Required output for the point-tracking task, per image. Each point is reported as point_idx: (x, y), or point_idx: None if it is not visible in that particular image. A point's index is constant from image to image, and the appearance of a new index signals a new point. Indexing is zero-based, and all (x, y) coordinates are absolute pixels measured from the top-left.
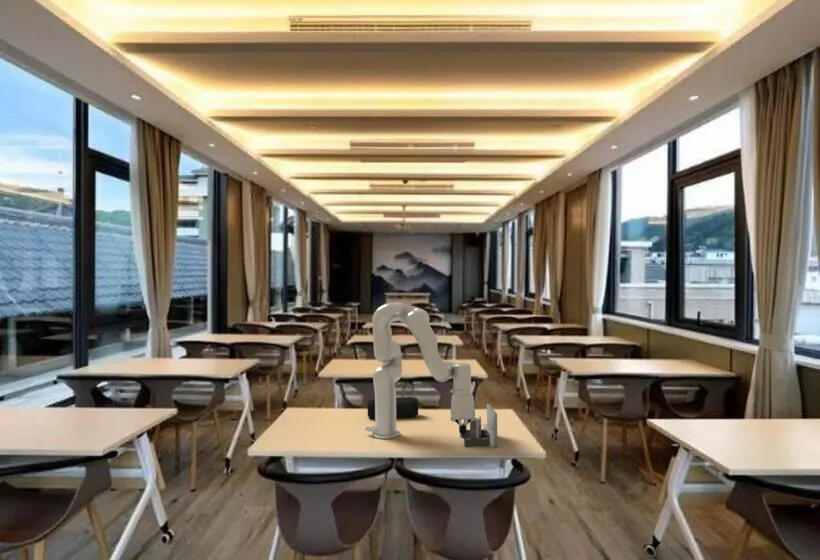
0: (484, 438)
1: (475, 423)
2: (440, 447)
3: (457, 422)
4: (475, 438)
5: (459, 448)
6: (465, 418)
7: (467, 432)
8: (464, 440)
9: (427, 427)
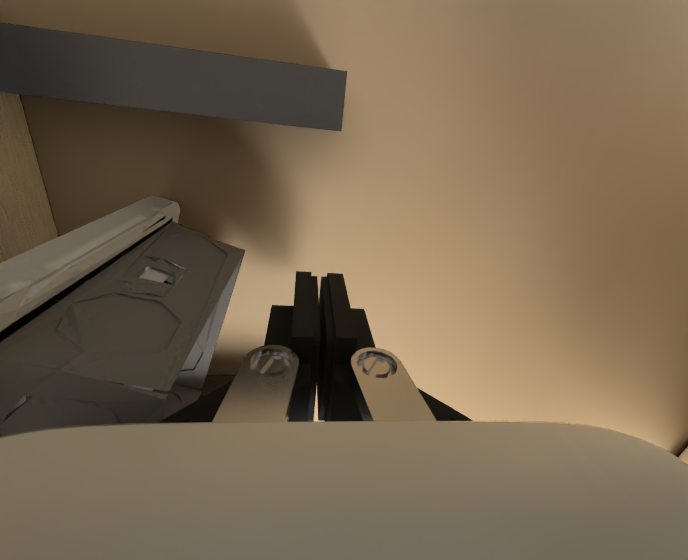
0: (3, 69)
1: (36, 343)
2: (589, 119)
3: (434, 408)
4: (164, 103)
5: (412, 27)
6: (278, 429)
7: None
8: (345, 76)
9: None
